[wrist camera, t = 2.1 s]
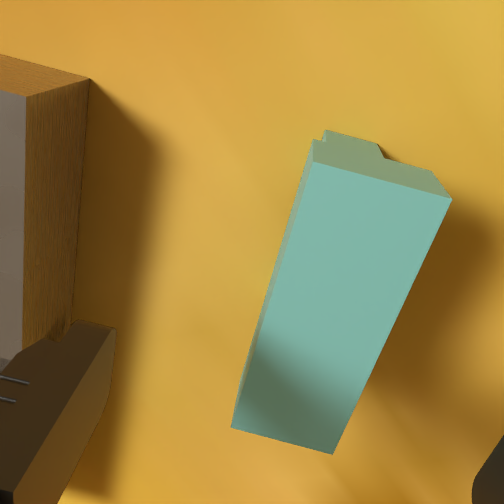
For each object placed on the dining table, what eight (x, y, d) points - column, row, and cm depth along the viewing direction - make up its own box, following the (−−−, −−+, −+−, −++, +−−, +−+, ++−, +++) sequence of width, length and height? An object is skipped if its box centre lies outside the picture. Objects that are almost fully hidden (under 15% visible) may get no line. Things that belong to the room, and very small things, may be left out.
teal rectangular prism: (313, 107, 16) (313, 161, 10) (401, 130, 16) (452, 198, 10) (255, 303, 19) (230, 427, 14) (326, 323, 19) (332, 454, 14)
